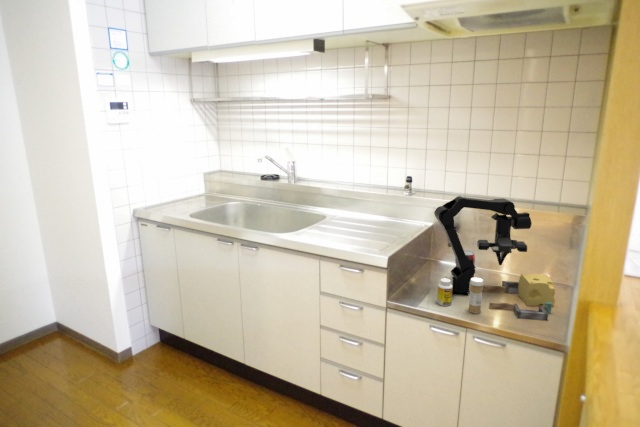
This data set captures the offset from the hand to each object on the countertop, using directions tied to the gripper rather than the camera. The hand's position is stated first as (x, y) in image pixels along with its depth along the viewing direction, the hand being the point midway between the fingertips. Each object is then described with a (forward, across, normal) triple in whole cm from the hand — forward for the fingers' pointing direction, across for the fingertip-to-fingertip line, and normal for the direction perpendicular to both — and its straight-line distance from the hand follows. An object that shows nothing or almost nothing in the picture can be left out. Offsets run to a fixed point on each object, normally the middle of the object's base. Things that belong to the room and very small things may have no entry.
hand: (500, 264), depth 178 cm
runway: (+12, +5, -9) cm, 16 cm away
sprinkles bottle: (+12, -12, -21) cm, 27 cm away
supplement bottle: (+12, -23, -16) cm, 31 cm away
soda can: (+12, -12, +11) cm, 20 cm away
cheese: (+12, +13, -7) cm, 19 cm away
